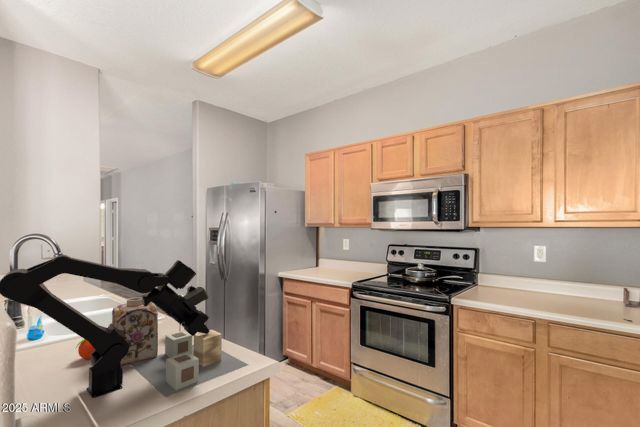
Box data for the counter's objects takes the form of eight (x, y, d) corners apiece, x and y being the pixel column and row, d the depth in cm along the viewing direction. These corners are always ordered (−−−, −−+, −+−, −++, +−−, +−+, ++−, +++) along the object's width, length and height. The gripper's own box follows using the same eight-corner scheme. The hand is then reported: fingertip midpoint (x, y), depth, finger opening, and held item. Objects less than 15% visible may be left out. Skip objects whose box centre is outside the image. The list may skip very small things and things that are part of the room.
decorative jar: (152, 346, 110) (152, 293, 110) (158, 356, 100) (158, 298, 101) (110, 355, 103) (111, 298, 103) (113, 367, 93) (114, 304, 94)
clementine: (80, 367, 94) (81, 342, 94) (69, 361, 98) (69, 338, 98) (109, 357, 101) (110, 334, 101) (97, 352, 105) (98, 330, 105)
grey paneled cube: (176, 390, 81) (176, 365, 81) (165, 381, 85) (166, 358, 85) (198, 381, 86) (199, 358, 86) (187, 373, 90) (188, 351, 90)
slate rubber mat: (166, 399, 78) (166, 397, 78) (129, 365, 95) (129, 363, 95) (248, 366, 96) (248, 364, 96) (205, 343, 113) (205, 341, 113)
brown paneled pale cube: (173, 360, 98) (173, 339, 98) (165, 354, 103) (165, 334, 103) (192, 354, 103) (192, 334, 103) (183, 348, 107) (183, 330, 107)
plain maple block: (203, 366, 94) (203, 339, 94) (193, 360, 98) (193, 334, 98) (221, 360, 98) (221, 334, 99) (211, 354, 103) (211, 329, 103)
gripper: (201, 284, 88) (238, 317, 95) (181, 275, 103) (215, 304, 109) (170, 319, 83) (212, 351, 90) (154, 303, 98) (191, 332, 104)
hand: (208, 332), depth 99 cm, fingers closed
